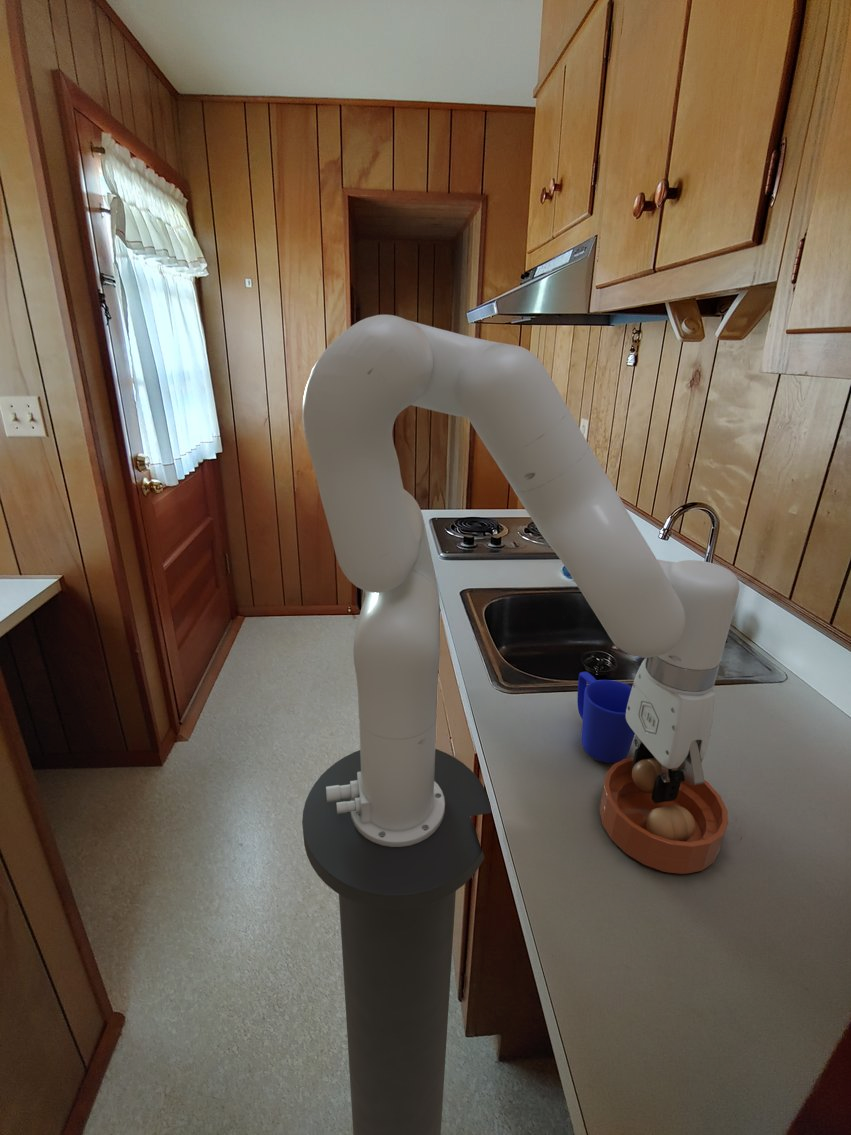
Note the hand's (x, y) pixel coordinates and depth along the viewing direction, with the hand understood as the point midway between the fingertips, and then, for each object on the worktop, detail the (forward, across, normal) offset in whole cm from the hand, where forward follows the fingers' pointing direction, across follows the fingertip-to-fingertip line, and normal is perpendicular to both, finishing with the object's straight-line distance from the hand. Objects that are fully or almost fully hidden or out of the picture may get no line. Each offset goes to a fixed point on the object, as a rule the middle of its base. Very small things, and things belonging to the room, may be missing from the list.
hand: (653, 784), depth 71 cm
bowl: (+4, +2, 0) cm, 5 cm away
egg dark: (0, 0, 0) cm, 0 cm away
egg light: (+4, +5, 0) cm, 6 cm away
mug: (+5, -14, 0) cm, 14 cm away
